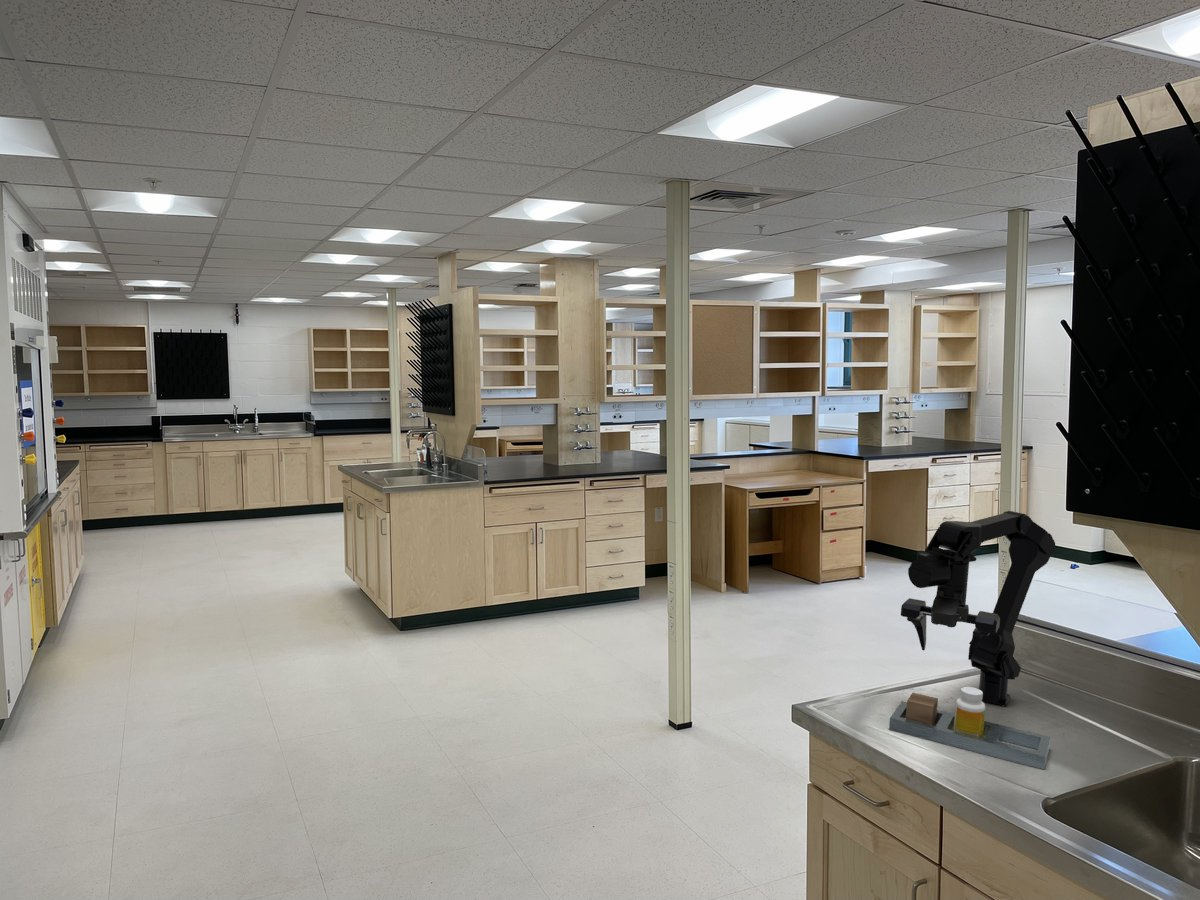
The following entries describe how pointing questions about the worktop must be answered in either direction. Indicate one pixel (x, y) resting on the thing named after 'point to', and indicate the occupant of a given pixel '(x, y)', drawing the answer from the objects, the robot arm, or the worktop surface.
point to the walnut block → (922, 709)
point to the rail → (977, 738)
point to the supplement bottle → (970, 712)
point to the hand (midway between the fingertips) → (946, 654)
